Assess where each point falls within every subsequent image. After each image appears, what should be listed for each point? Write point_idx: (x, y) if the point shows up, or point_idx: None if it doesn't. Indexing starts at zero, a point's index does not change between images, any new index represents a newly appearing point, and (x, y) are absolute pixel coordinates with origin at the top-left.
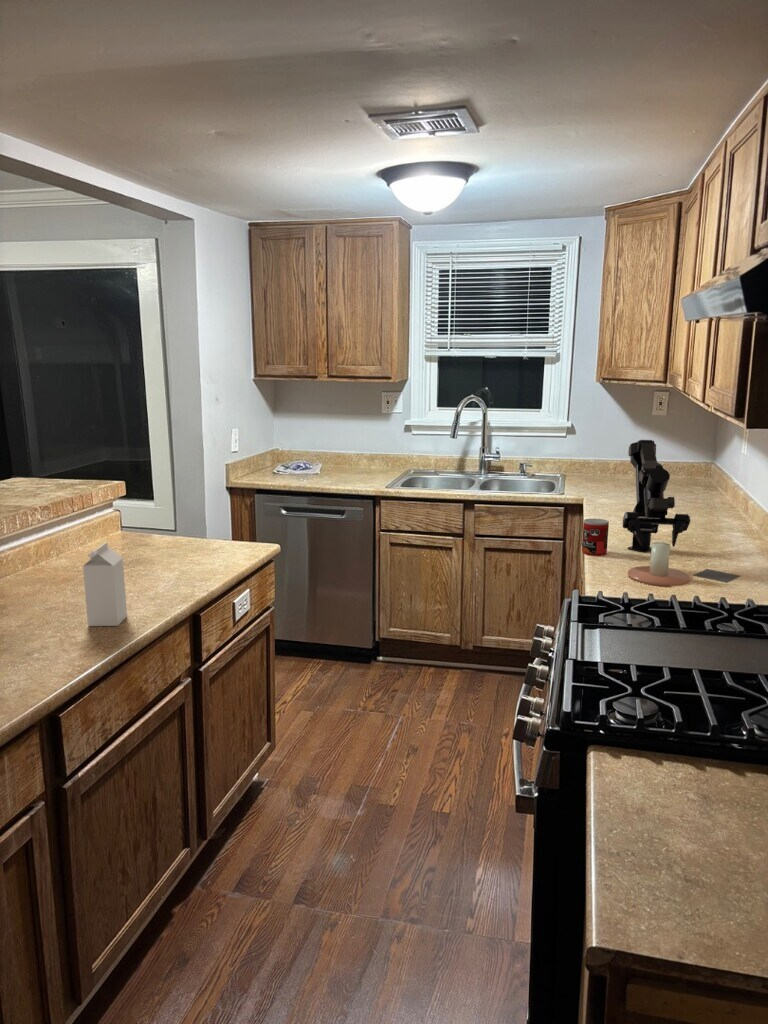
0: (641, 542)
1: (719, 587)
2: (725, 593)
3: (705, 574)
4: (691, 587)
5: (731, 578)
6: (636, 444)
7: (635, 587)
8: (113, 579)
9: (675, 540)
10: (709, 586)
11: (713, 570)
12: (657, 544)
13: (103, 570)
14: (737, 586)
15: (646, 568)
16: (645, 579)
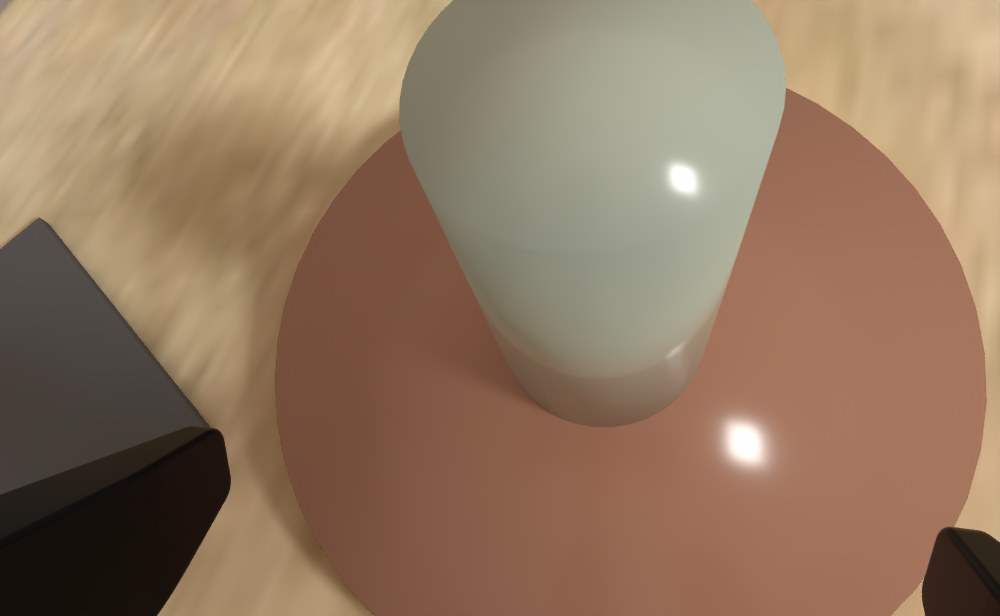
0: (977, 541)
1: (161, 132)
2: (204, 7)
3: (59, 468)
4: (389, 99)
5: None
6: None
7: (908, 25)
8: None
9: (101, 462)
10: (226, 145)
11: None
12: (670, 51)
13: None
14: (7, 176)
15: (696, 574)
16: (800, 117)
